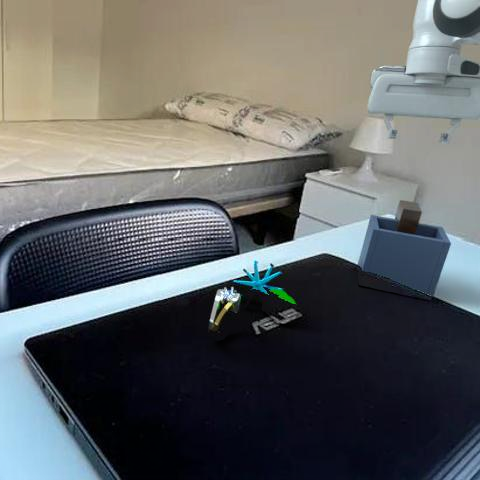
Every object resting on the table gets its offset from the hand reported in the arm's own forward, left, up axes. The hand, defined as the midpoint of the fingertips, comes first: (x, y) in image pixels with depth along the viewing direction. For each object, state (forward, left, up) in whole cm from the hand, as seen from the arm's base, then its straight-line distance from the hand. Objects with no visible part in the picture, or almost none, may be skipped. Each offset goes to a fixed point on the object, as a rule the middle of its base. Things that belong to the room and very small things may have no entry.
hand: (417, 141), depth 98 cm
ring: (+26, +50, -23) cm, 60 cm away
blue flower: (+20, +37, -23) cm, 49 cm away
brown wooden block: (+1, +15, -18) cm, 23 cm away
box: (+1, +19, -23) cm, 30 cm away
